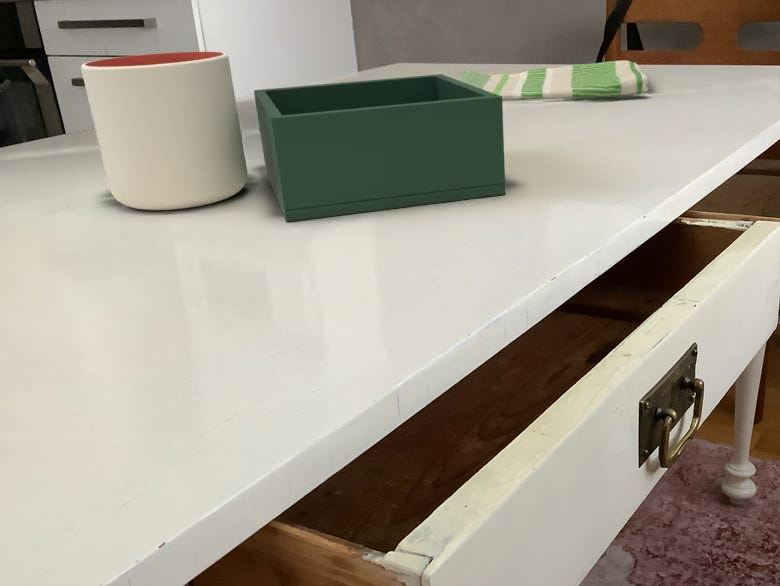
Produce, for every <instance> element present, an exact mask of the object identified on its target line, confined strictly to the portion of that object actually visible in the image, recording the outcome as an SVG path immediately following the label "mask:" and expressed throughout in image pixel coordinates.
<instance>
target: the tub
mask: <svg viewBox="0 0 780 586" xmlns="http://www.w3.org/2000/svg"><path fill="white" fill-rule="evenodd" d="M253 94H254V101H255V108H256V113H257V120H258V127H259V132H260V140H261V146H262V152H263V160H264V165H265V172H266V176H267V179H268V181H269V183H270V186H271V189H272V191H273V193H274V196H275V198H276V200H277V203H278V205H279V207H280V210H281V213H282V215H283V218H284V220H285V222H286V223H288V222H289V223H290V222H298V221H306V220H313V219H322V218H328V217H329V218H330V217H337V216H344V215H352V214H353V215H354V214H360V213H361V214H362V213H368V212H376V211H384V210H391V209H392V210H393V209H401V208H407V207H408V208H409V207H416V206H424V205H433V204H439V203H446V202H447V203H448V202H454V201H463V200H471V199H472V200H473V199H479V198H487V197H496V196H502V195H506V168H505V167H506V166H505V142H504V141H505V140H504V109H503V100H502V96H499V95H496V94H493V93H491V92H488V91H485V90H483V89H480V88H477V87H475V86H472V85H469V84H467V83H464V82H461V81H459V80H458V79H455V78H453V77H450V76H448V75H445V74H443V73H439V74H427V75H417V76H404V77H403V76H402V77H392V78H381V79H369V80H358V81H347V82H346V81H345V82H333V83H323V84H311V85H299V86H286V87H275V88H263V89H254V90H253Z"/></svg>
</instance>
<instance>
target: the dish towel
mask: <svg viewBox="0 0 780 586" xmlns="http://www.w3.org/2000/svg"><path fill="white" fill-rule="evenodd" d="M457 80H459V81H461V82H464V83H467V84H469V85H472V86H475V87H477V88H480V89H483V90H485V91H488V92H491V93H493V94H496V95H499V96H502V101H509V100H510V101H513V100H514V101H515V100H539V99H566V100H579V99H598V98H613V97H614V98H615V97H622V96H629V95H639V94H642V93H646V92H648V91H650V88H649V86H648V83H649V78H648V76H647V75H646V74H645V73H644V71H643V70H642V68H640V66H639V65H638V63H636V62H634V61H631V60H627V59H625V60H623V59H622V60H612V61H611V60H609V61H603V62H591V63H582V64H573V65H567V66H559V67H551V68H549V67H548V68H546V67H545V68H535V69H530V70H529V69H528V70H524V71H522V72H519V73H501V74H500V73H499V74H487V73H479V72H476V71H473V70H469V69H467V70H466V69H465V70H463V71H461V73H460V78H458V79H457Z"/></svg>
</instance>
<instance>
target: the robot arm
mask: <svg viewBox="0 0 780 586" xmlns="http://www.w3.org/2000/svg"><path fill="white" fill-rule="evenodd" d="M11 84H12V81H11V80H10V79H5V81H3V83H1V84H0V93H2V92H4V91H5V90H8V89H9V87H10V86H11Z"/></svg>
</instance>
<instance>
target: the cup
mask: <svg viewBox="0 0 780 586" xmlns="http://www.w3.org/2000/svg"><path fill="white" fill-rule="evenodd" d="M80 70H81V75H82V79H83V82H84V88H85V92H86V95H87V100H88V105H89V109H90V113H91V116H92V121H93V126H94V129H95V133H96V138H97V143H98V146H99V150H100V155H101V159H102V163H103V168H104V173H105V176H106V181H107V185H108V189H109V191H110V193H111V195H112V196H113V197H114V199H115V200H116V201H118V202H119V203H120V204H121V205H122V204H123V205H124V206H126V207H129V208H133V209H136V210H137V209H138V210H144V211H147V210H148V211H168V210H169V211H171V210H173V211H174V210H182V209H191V208H196V207H201V206H205V205H210V204H213V203H217V202H220V201H224V200H227V199H228V198H231V197H233V196H235V195H236V194H237V193H239V192H240V191H241V190H242V189H243V188H244V186H245V185H246V183H247V180H248V166H247V161H246V155H245V154H246V153H245V149H244V141H243V137H242V131H241V130H242V129H241V124H240V119H239V113H238V105H237V101H236V95H235V87H234V82H233V76H232V70H231V64H230V58H229V55H228V54H227V53H226V52H222V51H179V52H177V51H176V52H163V53H162V52H161V53H147V54H138V55H128V56H119V57H111V58H104V59H97V60H93V61H88V62H85V63H82V64H81V65H80Z"/></svg>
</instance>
